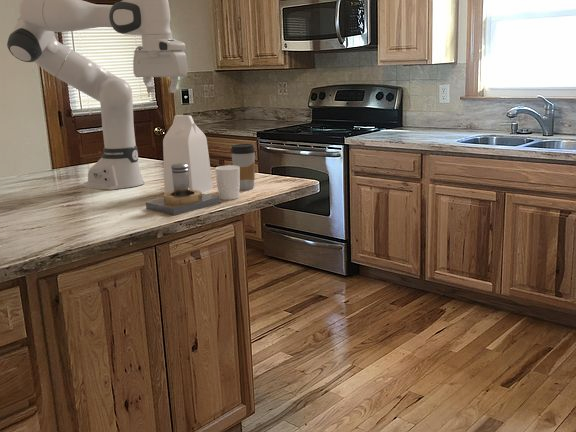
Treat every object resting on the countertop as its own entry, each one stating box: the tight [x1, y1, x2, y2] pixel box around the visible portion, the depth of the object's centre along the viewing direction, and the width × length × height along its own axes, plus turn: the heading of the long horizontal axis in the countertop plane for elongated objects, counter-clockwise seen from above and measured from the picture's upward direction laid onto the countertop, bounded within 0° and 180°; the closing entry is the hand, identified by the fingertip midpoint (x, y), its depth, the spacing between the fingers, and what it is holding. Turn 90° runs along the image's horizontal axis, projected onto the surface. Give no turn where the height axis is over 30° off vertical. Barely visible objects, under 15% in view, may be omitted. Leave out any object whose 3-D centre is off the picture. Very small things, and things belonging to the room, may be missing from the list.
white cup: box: [214, 164, 241, 201], centre depth 200 cm, size 8×8×10 cm
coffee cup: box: [230, 143, 256, 191], centre depth 213 cm, size 8×8×15 cm
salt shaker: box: [171, 163, 191, 196], centre depth 191 cm, size 5×5×11 cm
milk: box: [162, 114, 214, 194], centre depth 210 cm, size 12×12×26 cm
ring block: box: [145, 189, 221, 216], centre depth 192 cm, size 18×14×4 cm
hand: (161, 92), depth 187 cm, fingers open, 8 cm apart
